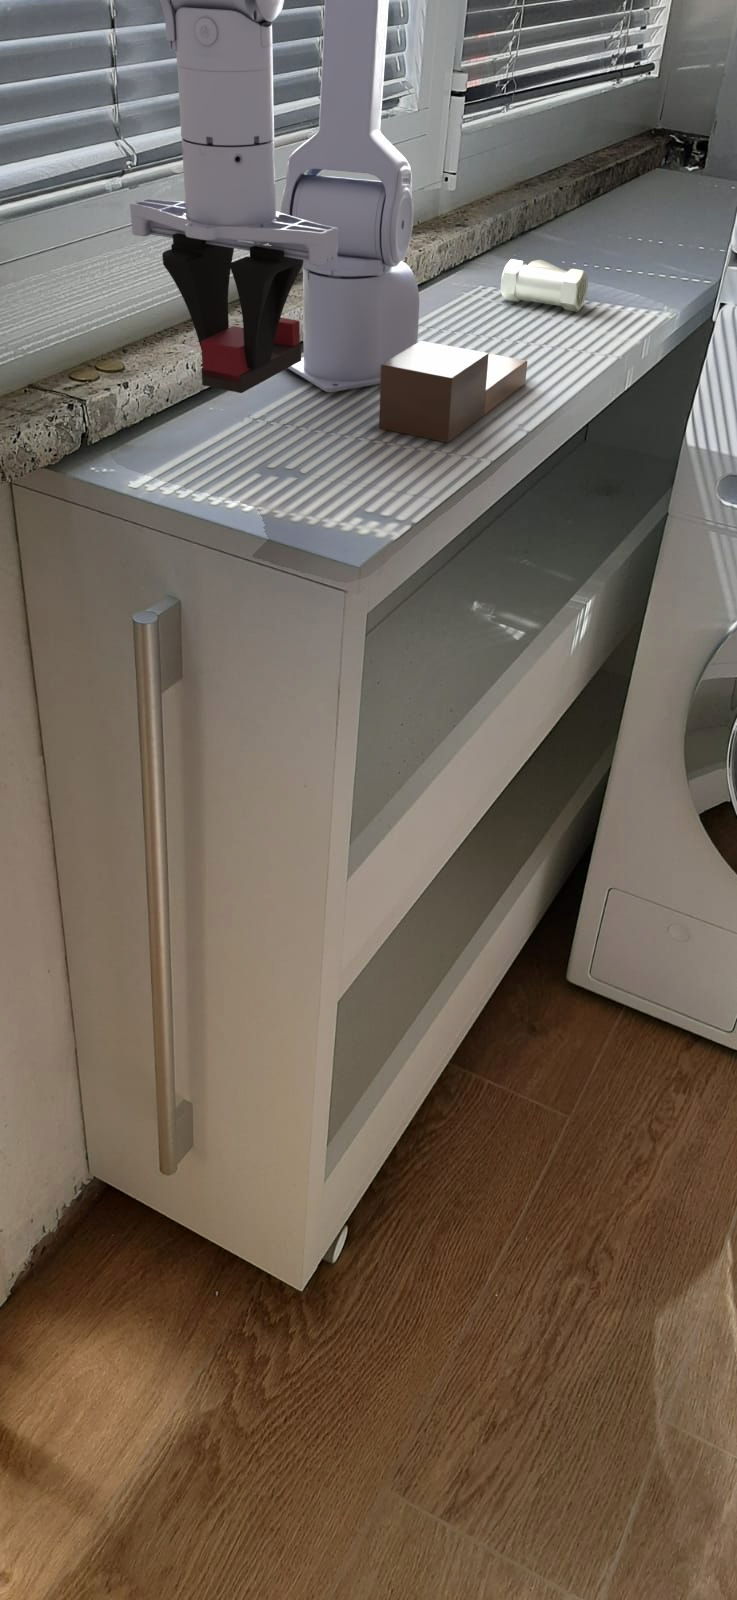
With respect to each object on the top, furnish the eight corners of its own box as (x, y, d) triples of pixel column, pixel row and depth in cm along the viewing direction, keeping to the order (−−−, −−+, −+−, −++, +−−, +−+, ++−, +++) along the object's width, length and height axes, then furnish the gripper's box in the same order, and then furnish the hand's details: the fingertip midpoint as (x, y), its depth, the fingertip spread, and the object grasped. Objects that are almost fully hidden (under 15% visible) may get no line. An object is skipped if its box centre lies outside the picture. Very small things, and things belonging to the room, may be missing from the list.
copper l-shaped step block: (462, 371, 111) (466, 313, 108) (525, 383, 108) (531, 324, 105) (378, 428, 99) (380, 364, 96) (447, 443, 97) (451, 378, 94)
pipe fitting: (523, 292, 133) (498, 302, 128) (527, 252, 131) (503, 261, 126) (595, 304, 130) (573, 314, 125) (601, 263, 128) (579, 272, 123)
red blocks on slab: (263, 353, 92) (262, 311, 90) (301, 360, 90) (301, 317, 89) (202, 385, 86) (199, 340, 84) (241, 393, 85) (239, 348, 83)
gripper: (93, 135, 77) (114, 357, 86) (296, 162, 72) (298, 396, 80) (160, 119, 83) (174, 331, 91) (354, 143, 77) (351, 366, 85)
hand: (236, 360), depth 86 cm, fingers closed on red blocks on slab, 3 cm apart
